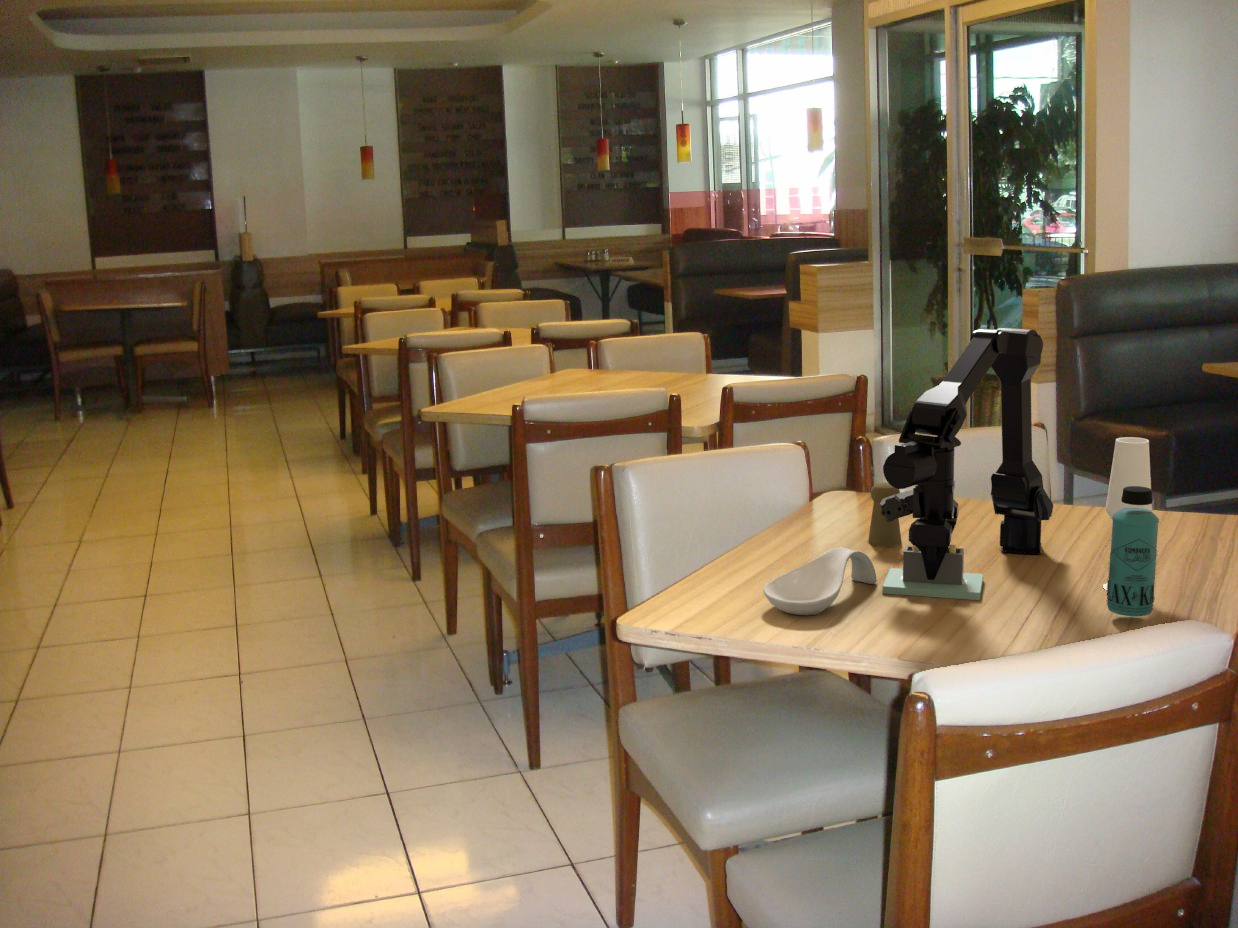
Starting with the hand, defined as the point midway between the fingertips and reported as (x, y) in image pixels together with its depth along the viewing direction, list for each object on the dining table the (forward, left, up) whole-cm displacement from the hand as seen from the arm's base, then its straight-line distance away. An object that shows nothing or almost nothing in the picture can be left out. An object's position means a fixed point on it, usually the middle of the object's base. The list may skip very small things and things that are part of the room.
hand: (933, 571), depth 196 cm
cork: (+11, -25, -3) cm, 27 cm away
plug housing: (0, 0, -1) cm, 1 cm away
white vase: (-29, -6, -3) cm, 30 cm away
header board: (0, 0, -3) cm, 3 cm away
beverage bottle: (-29, +9, -3) cm, 31 cm away
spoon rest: (+16, +10, -3) cm, 19 cm away
